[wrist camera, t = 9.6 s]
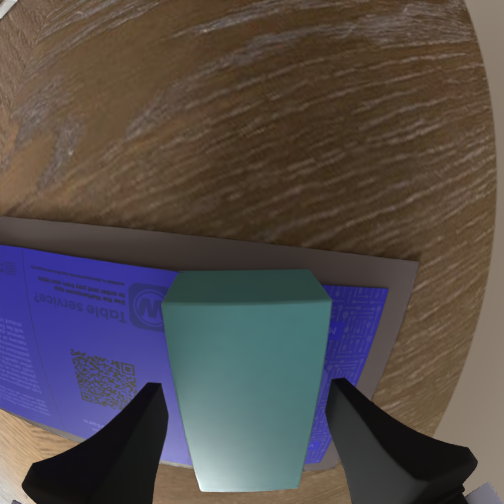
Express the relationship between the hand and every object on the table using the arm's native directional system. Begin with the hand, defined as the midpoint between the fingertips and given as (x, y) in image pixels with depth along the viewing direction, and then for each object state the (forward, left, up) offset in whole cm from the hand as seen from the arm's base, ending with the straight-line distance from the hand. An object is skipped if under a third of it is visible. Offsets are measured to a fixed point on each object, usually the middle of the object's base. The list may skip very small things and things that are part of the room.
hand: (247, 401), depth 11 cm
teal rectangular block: (0, 0, -1) cm, 1 cm away
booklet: (+7, +1, -2) cm, 7 cm away
